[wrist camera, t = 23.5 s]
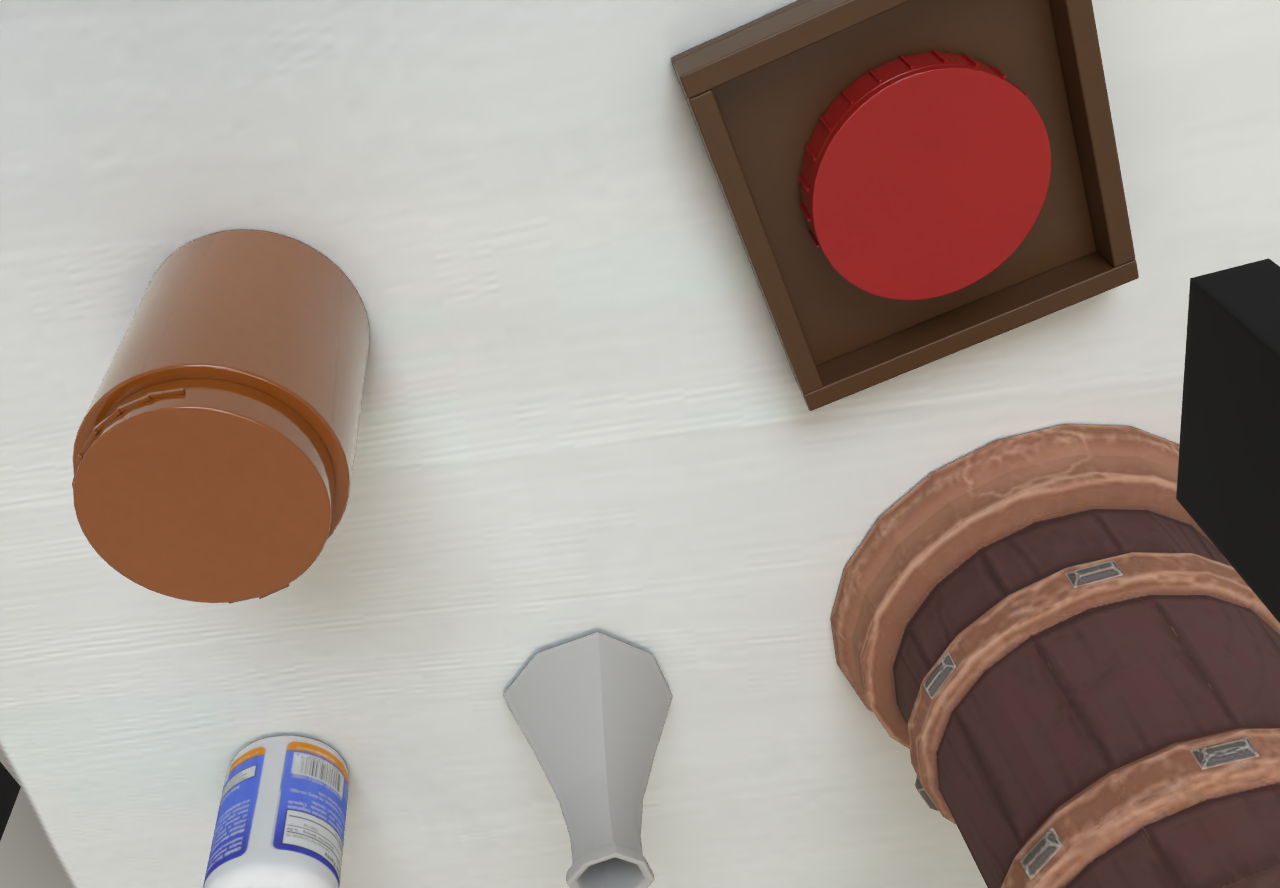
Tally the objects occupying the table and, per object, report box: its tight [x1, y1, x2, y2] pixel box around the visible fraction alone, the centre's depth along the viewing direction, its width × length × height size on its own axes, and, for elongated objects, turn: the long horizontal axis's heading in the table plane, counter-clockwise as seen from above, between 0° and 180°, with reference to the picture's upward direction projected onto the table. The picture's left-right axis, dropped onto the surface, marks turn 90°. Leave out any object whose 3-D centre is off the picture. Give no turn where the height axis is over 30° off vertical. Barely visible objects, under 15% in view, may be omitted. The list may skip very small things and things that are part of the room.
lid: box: [798, 50, 1051, 300], centre depth 40 cm, size 8×8×2 cm
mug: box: [831, 424, 1280, 888], centre depth 45 cm, size 18×23×20 cm
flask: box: [503, 632, 672, 888], centre depth 49 cm, size 7×7×10 cm
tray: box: [671, 0, 1139, 411], centre depth 40 cm, size 14×13×2 cm
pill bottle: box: [203, 736, 349, 888], centre depth 50 cm, size 5×5×10 cm
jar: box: [72, 230, 370, 603], centre depth 37 cm, size 8×8×10 cm
